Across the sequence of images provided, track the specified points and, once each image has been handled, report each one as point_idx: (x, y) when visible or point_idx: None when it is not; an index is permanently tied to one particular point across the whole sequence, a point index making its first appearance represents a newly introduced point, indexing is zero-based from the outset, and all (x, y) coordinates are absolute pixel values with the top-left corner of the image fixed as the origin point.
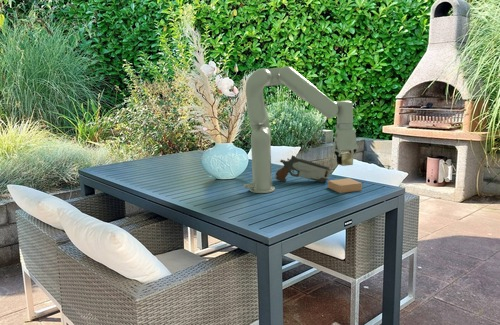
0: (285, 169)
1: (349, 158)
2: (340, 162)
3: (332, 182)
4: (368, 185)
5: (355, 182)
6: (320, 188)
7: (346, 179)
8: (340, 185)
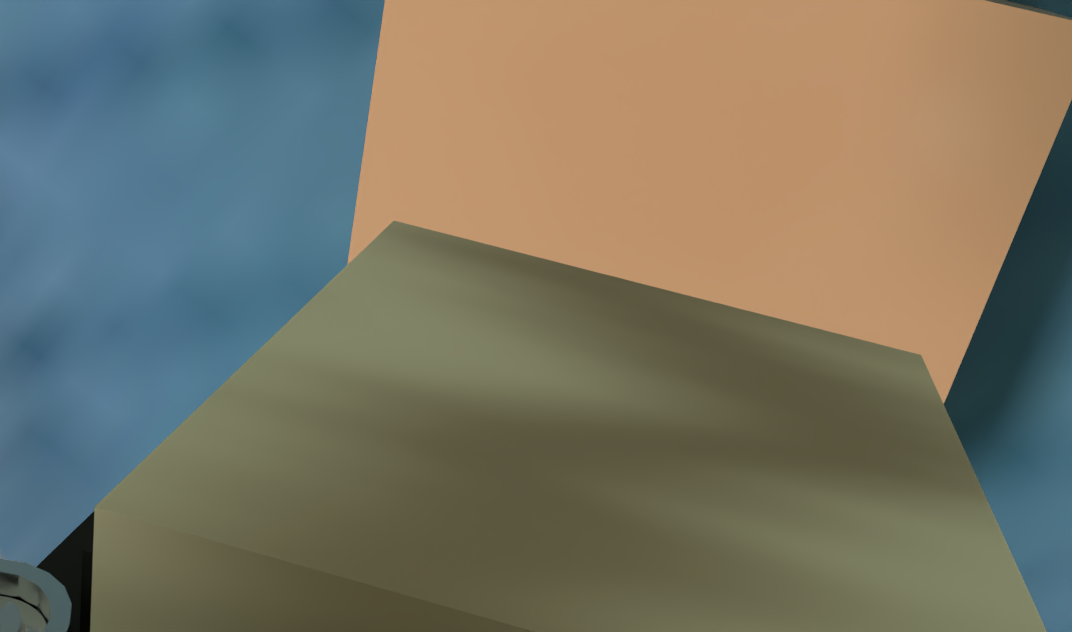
0: None
1: (513, 417)
2: None
3: None
4: (76, 104)
5: (491, 34)
6: (1018, 555)
7: None
8: (1062, 41)
